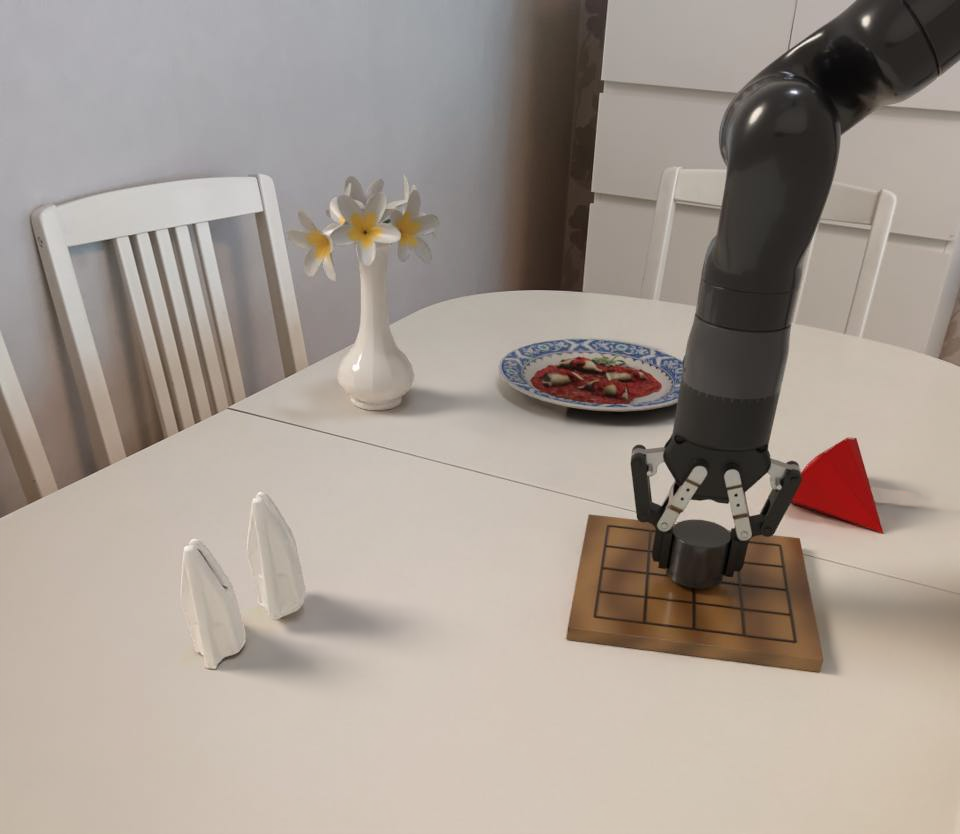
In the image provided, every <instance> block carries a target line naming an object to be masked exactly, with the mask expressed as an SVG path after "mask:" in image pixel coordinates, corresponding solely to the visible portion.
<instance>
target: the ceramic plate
mask: <svg viewBox="0 0 960 834" xmlns="http://www.w3.org/2000/svg"><path fill="white" fill-rule="evenodd" d="M682 363H683V359H680V358H678V357H676V356H674V355H672V354H669V353H667V352H664V351H662V350H658V349H655V348H652V347H648V346H644V345H640V344H635V343H630V342H623V341H617V340H615V341H614V340H606V339H595V338H594V339H593V338H589V339H588V338H570V339H569V338H567V339H566V338H565V339H555V340H553V339H552V340H545V341H540V342H534V343H531V344H528V345H523V346H521V347H520V346H519V347H518V348H516V349H513V350H511V351H510V352H508V353H506V354H505V355H504V356H503V357H502V358H501V359H500V361H499V363H498V373H499V375H500V377H501V378H502V380H503V381H504V382H505V383H506V384H507V385H508V386H510V387H511V388H513V389H515V390H516V391H518V392H520V393H522V394H523V395H526V396H528V397H531V398H533V399H535V400H539V401H542V402H545V403H548V404H553V405H557V406H562V407H566V408H572V409H579V410H587V411H594V412H595V411H597V412H599V411H600V412H637V411H649V410H655V409H661V408H666V407H670V406H673V405H675V404H676V405H677V403H678V396H679V390H680V384H681V378H682V371H683V365H682Z"/></svg>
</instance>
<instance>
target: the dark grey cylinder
mask: <svg viewBox="0 0 960 834" xmlns="http://www.w3.org/2000/svg"><path fill="white" fill-rule="evenodd" d="M674 524H675V525H674V526H673V534H672V540H671V546H670V552H669V558H668V563H667V569H665V572H666V574H667V576H668V577H669V578H670V579H671V580H673V581H674V582H676V583H678V584H680V585H683V586H686V587H690V588H701V589H702V588H711V587H714V586H717V585H718V584H720V583H721V582H722V580H723V577H724V572H725V568H726V563H727V558H728V553H729V549H730V544H731V534H730V532H729V531H728V530H729V529H727V528H726V527H724V526H723V525H721V524H719V523H716V522H714V521H710V520H704V519H685V520H680V521H679V522H677V523H674Z"/></svg>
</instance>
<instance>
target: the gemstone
mask: <svg viewBox="0 0 960 834" xmlns="http://www.w3.org/2000/svg"><path fill="white" fill-rule="evenodd" d="M801 477H802V482H801V484H800V486H799V488H798V490H797V492H796V493H795V495H794V497H793V499H792V501H791V503H790V504H794V505H797V506H799V507H803V508H806V509H809V510H811V511H815V512H818V513H821V514H824V515H826V516H831V517H833V518H836V519H839V520H842V521H845V522H847V523H851V524H853V525H856V526H860V527H862V528H866V529H870V530H872V531H875V532H878V533H881V534H884V530H883V525H882V523H881V519H880V516H879V512H878V509H877V505H876V502H875V499H874V498H875V497H874V495H873V491H872V488H871V484H870V480H869V477H868V474H867V470H866V467H865V463H864V460H863V455H862V453H861V449H860V446H859V442H858V439H857V437H846V438H844V439H842V440H841V441H839V442H837V443H835V444H834V445H832V446H831V447H829V448H827V449H825V450H824V451H822V452H821V453H819V454H817V455H816V456H815V457H814V458H812V460H810V461H809V462H808V463H807V464H806V465H805V467H804V468H803V469H802V471H801Z"/></svg>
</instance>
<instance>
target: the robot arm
mask: <svg viewBox="0 0 960 834" xmlns="http://www.w3.org/2000/svg"><path fill="white" fill-rule="evenodd" d="M958 62H960V0H855V1H853V2H852V3H851V4H850V5H849V6H848V7H847V8H845V10H843V11H842V12H841V13H839V14H838V15H837V16H835V17H834V18H833V19H831V20H829V21H828V22H827V23H825V24H823V25H822V26H820V27H819V28H818V29H816V30H814V31H813V32H812V33H811V34H809V35H808V36H806V37H805V38H804V39H802V40H801V41H799V42H798V43H796V44H795V45H794V46H792V47H791V48H789V49H788V50H786V51H785V52H784V53H783V54H781V55H780V56H778V57H777V58H776V59H774V60H773V61H772V62H771V63H769V64H768V65H767V66H766V67H765V68H763V69H762V70H761V71H759V72H758V73H756V74H755V75H754V76H753V77H752V78H751V79H750V80H749V81H748V82H747V83H745V85H744V86H743V87H741V89H740V90H739V91H738V92H737V93H736V94H735V95H734V96H733V98H732V99H731V101H730V102H729V104H728V106H727V108H726V109H725V111H724V113H723V116H722V118H721V122H720V125H719V132H718V147H719V152H720V155H721V159H722V161H723V163H724V164H725V167H726V173H725V182H724V188H723V196H722V200H721V206H720V211H719V218H718V225H717V232H716V235H715V236H714V237H713V238H712V239H711V240H710V243H709V245H708V247H707V249H706V253H705V256H704V260H703V264H702V270H701V275H700V282H699V289H698V295H697V301H696V307H695V313H694V317H693V321H692V325H691V328H690V331H689V336H688V337H687V341H686V348H685V353H684V355H683V359H682V361H683V363H682V365H683V371H682V378H681V384H680V390H679V396H678V403H676V409H675V416H674V421H673V427H672V428H673V429H672V433H671V435H670V437H669V439H668V440H667V441H666V442H665V444H664V446H662V447H653V448H646V446H644V445H643V444H636V445H634V446H633V447H632V449H631V456H630V470H631V479H632V489H633V496H634V505H635V515H636V520H639V521H640V522H648V523H651V524H652V525H654V527H655V535H654V541H653V548H652V558H653V561H655V562H659V564H658V568H661V569H667V563H668V558H669V552H670V546H671V540H672V534H673V524H676V523H675V522H676V521H677V520H678V518H679V517H680V515H681V514H682V513H683V512H685V509H686V508H687V506H688V505H689V503H690V502H691V501H699V502H700V501H712V502H714V503H715V502H716V503H719V504H727V505H729V506H730V512H731V515H732V519H733V524H734V527H731V528H730V530H731V533H730V534H731V544H730V549H729V553H728V558H727V563H726V568H725V572H724V576H726V577H733V575H734V571H738V572H740V570H741V569H742V568H743V565H744V560H745V556H746V552H747V547H748V543H749V540H750V539H751V538H752V537H754V536H758V535H763V536H765V537H770V536H772V535H775V534H776V531H777V529H778V528H779V525H780V524H781V521H782V520H783V518H784V516H785V514H786V513H787V511H788V508H789V507H790V505H791V504H792V503H791V501H792V499H793V497H794V495H795V493H796V492H797V490H798V488H799V486H800V484H801V482H802V477H801V472H802V471H801V468H800V465H799V463H798V462H797V461H795V460H789V461H787V462H783V461H780V460H778V459H774V458H772V457H771V454H770V453H771V452H770V451H769V444H770V439H771V435H772V430H773V426H774V421H775V416H776V413H777V409H778V408H777V407H778V405H779V400H780V399H779V397H780V394H781V391H782V390H781V389H782V385H783V381H784V376H785V371H786V368H787V362H788V357H789V351H790V341H791V340H790V338H791V329H792V323H793V320H794V315H795V310H796V306H797V301H798V297H799V292H800V287H801V282H802V277H803V270H804V262H805V258H806V256H807V253H808V250H809V248H810V246H811V243H812V242H813V239H814V237H815V234H816V231H817V228H818V226H819V223H820V221H821V217H822V214H823V212H824V209H825V206H826V203H827V201H828V197H829V194H830V192H831V188H832V185H833V182H834V178H835V175H836V170H837V166H838V160H839V156H840V149H841V141H842V136H843V135H844V134H845V133H847V132H848V131H850V130H851V129H852V128H853V127H855V126H856V125H858V124H859V123H861V121H863V120H864V119H866V118H867V117H868V116H869V115H871V114H872V113H874V112H875V111H877V110H879V109H881V108H883V107H887V106H890V105H896V104H900V103H901V102H904V101H906V100H908V99H910V98H912V97H914V95H917V94H918V93H920V92H921V91H922V90H924V89H925V88H926V87H928V86H929V85H931V84H932V83H933V82H935V81H936V79H938V78H939V77H941V76H942V75H943V74H944V73H946V72H948V70H950V69H951V68H953V66H955V65H956V64H958ZM662 463H664V464H665V466H666V467H667V470H668V471H669V473H670V474H671V476H672V477H673V480H674V481H673V483H672V485H671V486H670V488H669V491H668V492H667V495H666V496H665V498H664V500H663V502H662V503H661V504H658V503H655V502H654V501H653V497H652V489H651V477H654V476H655V475H656V474H657V473H658V468H659V467H658V466H659V465H660V464H662ZM766 474H768V475H770V476H769V484H770V488H771V491H770V493H769V494H768V496H767V499H766V500H765V503H764V504H763V506H762V508H761V510H760V512H759V514H753V515H750V511H749V507H748V502H747V501H748V500H747V495H746V492H748V490H750V489H751V488H752V487H753V486H754V485H755V484H757V483H758V482H759V481H760V480H761V479H762V478H763V477H765V475H766Z"/></svg>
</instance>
